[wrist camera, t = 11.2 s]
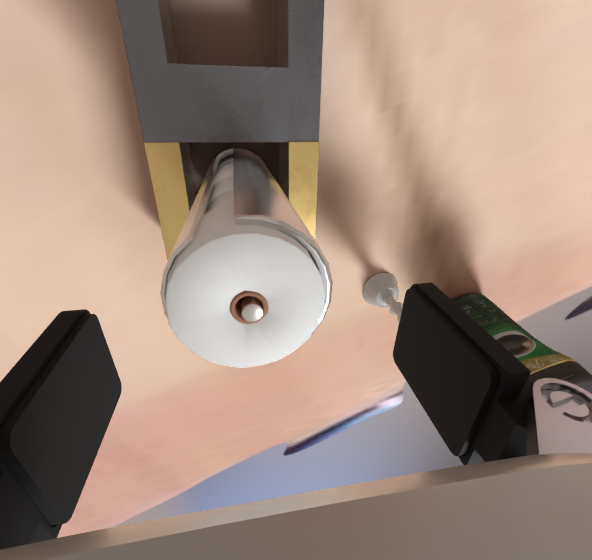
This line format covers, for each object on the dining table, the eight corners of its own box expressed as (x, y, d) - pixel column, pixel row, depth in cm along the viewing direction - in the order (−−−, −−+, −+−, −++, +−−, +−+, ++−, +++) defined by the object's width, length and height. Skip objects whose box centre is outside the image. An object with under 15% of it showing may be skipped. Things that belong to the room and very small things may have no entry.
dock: (115, -113, 22) (78, -186, 17) (308, -90, 24) (330, -147, 19) (178, 244, 35) (169, 269, 29) (302, 238, 37) (314, 259, 32)
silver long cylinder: (206, 208, 33) (157, 383, 12) (208, 142, 31) (148, 213, 9) (266, 214, 35) (322, 380, 13) (273, 152, 32) (360, 234, 10)
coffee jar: (428, 346, 50) (523, 458, 33) (422, 308, 46) (527, 414, 29) (484, 324, 50) (607, 425, 33) (484, 284, 46) (622, 377, 29)
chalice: (390, 314, 45) (475, 421, 29) (348, 307, 43) (415, 418, 27) (412, 270, 42) (519, 362, 26) (368, 260, 40) (456, 354, 24)
